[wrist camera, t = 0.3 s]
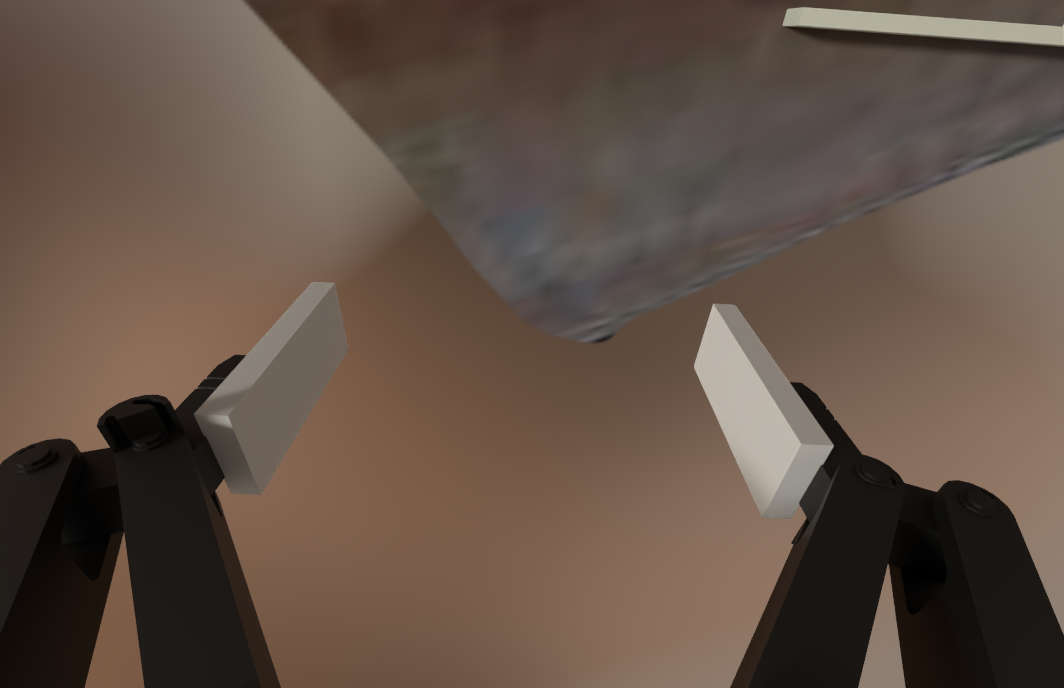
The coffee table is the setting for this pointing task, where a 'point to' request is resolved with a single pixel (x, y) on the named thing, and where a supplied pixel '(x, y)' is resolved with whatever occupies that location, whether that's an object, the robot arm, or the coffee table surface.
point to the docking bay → (924, 26)
